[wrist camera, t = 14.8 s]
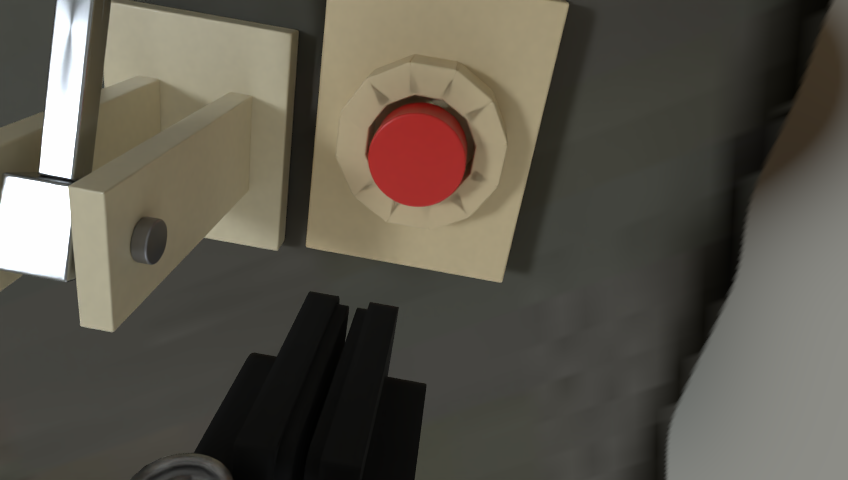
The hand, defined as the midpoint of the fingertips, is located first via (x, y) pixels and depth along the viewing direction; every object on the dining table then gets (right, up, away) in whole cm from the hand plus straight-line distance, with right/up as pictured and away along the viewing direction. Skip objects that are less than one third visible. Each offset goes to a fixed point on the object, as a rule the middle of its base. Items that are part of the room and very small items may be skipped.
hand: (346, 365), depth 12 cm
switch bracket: (-9, +7, +17) cm, 21 cm away
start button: (+1, +6, +13) cm, 14 cm away
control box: (+2, +7, +16) cm, 18 cm away
